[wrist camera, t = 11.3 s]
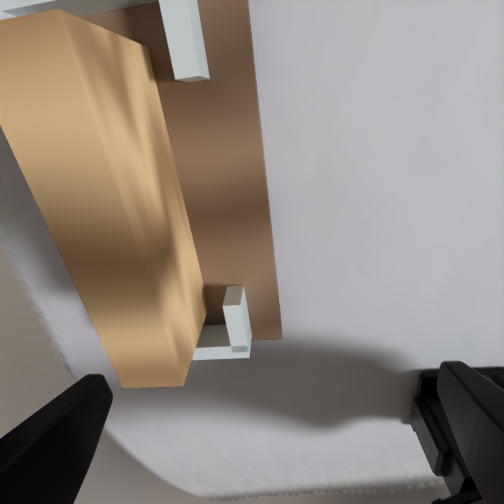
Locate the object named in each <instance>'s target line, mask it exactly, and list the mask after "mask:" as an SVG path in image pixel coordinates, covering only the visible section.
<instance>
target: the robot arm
mask: <svg viewBox="0 0 504 504" xmlns="http://www.w3.org/2000/svg"><path fill="white" fill-rule="evenodd" d="M112 399H113V395H112V391H111V389H110V387H109V385H108V383H107V381H106V379H105V377H104V376H103V375H102V374H88V375H86V376H84V377H83V378H82V379H80V380H79V381H78V382H76V383H75V384H73V385H72V386H71V387H69V388H68V389H67V390H65V391H64V392H63V393H61V394H60V395H59V396H57V397H56V398H55V399H53V400H52V401H50V402H49V403H48V404H46V405H45V406H44V407H42V408H41V409H40V410H38V411H37V412H36V413H34V414H33V415H32V416H30V417H29V418H28V419H26V420H25V421H24V422H22V423H21V424H19V425H18V426H17V427H16V428H14V429H13V430H11V431H10V432H9V433H7V434H6V435H5V436H3V437H2V438H0V504H74V501H75V499H76V497H77V494H78V492H79V490H80V487H81V485H82V483H83V481H84V478H85V476H86V474H87V471H88V469H89V467H90V464H91V462H92V459H93V457H94V454H95V451H96V448H97V445H98V442H99V439H100V436H101V433H102V431H103V428H104V425H105V422H106V419H107V416H108V413H109V410H110V407H111V404H112ZM410 420H411V426H412V428H413V431H414V432H416V434H417V437H418V439H419V441H420V444H421V446H422V448H423V451H424V453H425V455H426V458H427V460H428V462H429V465H430V467H431V469H432V472H433V473H434V474H435V475H436V476H443V478H444V481H445V483H446V485H447V487H448V489H449V492H450V494H451V496H449V497H447V498H444V499H440V498H438V499H435V500H432V504H504V370H478V371H475V370H474V369H472V368H471V367H469V366H468V365H466V364H465V363H463V362H461V361H443V362H442V363H441V365H440V369H439V372H425V373H423V374H421V375H420V377H419V382H418V388H417V393H416V396H415V398H414V399H413V405H412V411H411V417H410Z"/></svg>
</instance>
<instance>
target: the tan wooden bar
mask: <svg viewBox="0 0 504 504" xmlns="http://www.w3.org/2000/svg"><path fill="white" fill-rule="evenodd" d="M0 126H1V128H2V130H3V132H4V134H5V136H6V138H7V141H8V143H9V145H10V147H11V149H12V151H13V153H14V156H15V158H16V160H17V162H18V164H19V166H20V169H21V171H22V173H23V175H24V177H25V179H26V181H27V184H28V186H29V188H30V190H31V192H32V194H33V196H34V199H35V201H36V203H37V205H38V207H39V209H40V212H41V214H42V216H43V218H44V220H45V222H46V224H47V227H48V229H49V231H50V233H51V235H52V237H53V239H54V242H55V244H56V246H57V248H58V250H59V252H60V254H61V257H62V259H63V261H64V263H65V265H66V267H67V270H68V272H69V274H70V276H71V278H72V280H73V282H74V285H75V287H76V289H77V291H78V293H79V295H80V297H81V300H82V302H83V304H84V306H85V308H86V310H87V313H88V315H89V317H90V319H91V321H92V323H93V325H94V328H95V330H96V332H97V334H98V336H99V338H100V340H101V343H102V345H103V347H104V349H105V351H106V353H107V356H108V358H109V360H110V362H111V364H112V366H113V368H114V371H115V373H116V375H117V377H118V379H119V381H120V383H121V386H122V388H142V387H174V386H184V383H185V380H186V376H187V373H188V370H189V367H190V364H191V361H192V358H193V355H194V351H195V348H196V345H197V342H198V339H199V336H200V333H201V330H202V326H203V323H204V320H205V317H206V314H207V311H208V308H209V305H208V301H207V297H206V292H205V288H204V284H203V280H202V275H201V271H200V267H199V263H198V259H197V254H196V250H195V246H194V242H193V237H192V233H191V229H190V225H189V221H188V216H187V212H186V208H185V204H184V199H183V195H182V191H181V187H180V183H179V178H178V174H177V170H176V166H175V161H174V157H173V153H172V149H171V144H170V140H169V136H168V132H167V128H166V123H165V119H164V115H163V111H162V106H161V102H160V98H159V94H158V90H157V85H156V81H155V77H154V73H153V68H152V64H151V60H150V56H149V52H148V47H146V46H144V45H142V44H139V43H137V42H135V41H132V40H130V39H128V38H125V37H123V36H121V35H118V34H116V33H114V32H111V31H109V30H107V29H104V28H102V27H100V26H97V25H95V24H93V23H90V22H88V21H85V20H83V19H81V18H78V17H76V16H74V15H71V14H69V13H67V12H64V11H62V10H60V9H54V10H49V11H44V12H39V13H34V14H28V15H23V16H18V17H13V18H8V19H3V20H0Z"/></svg>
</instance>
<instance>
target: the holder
mask: <svg viewBox="0 0 504 504" xmlns="http://www.w3.org/2000/svg"><path fill="white" fill-rule="evenodd" d="M54 9H60V10H62V11H64V12H67V13H69V14H71V15H74V16H76V17H78V18H81V19H83V20H85V21H88V22H90V23H93V24H95V25H97V26H100V27H102V28H104V29H107V30H109V31H111V32H114V33H116V34H118V35H121V36H123V37H125V38H128V39H130V40H132V41H135V42H137V43H139V44H142V45H144V46H146V47H148V52H149V56H150V60H151V64H152V68H153V73H154V77H155V81H156V85H157V90H158V94H159V98H160V102H161V106H162V111H163V115H164V119H165V123H166V128H167V132H168V136H169V140H170V144H171V149H172V153H173V157H174V161H175V166H176V170H177V174H178V178H179V183H180V187H181V191H182V195H183V199H184V204H185V208H186V212H187V216H188V221H189V225H190V229H191V233H192V237H193V242H194V246H195V250H196V254H197V259H198V263H199V267H200V271H201V275H202V280H203V284H204V288H205V292H206V297H207V301H208V305H209V308H208V311H207V314H206V317H205V320H204V323H203V326H202V330H201V333H200V336H199V339H198V342H197V345H196V348H195V351H194V355H193V358H192V360H210V359H234V358H250V348H251V341H255V340H277V339H282V324H281V314H280V305H279V295H278V285H277V276H276V266H275V257H274V247H273V237H272V228H271V218H270V208H269V199H268V189H267V179H266V170H265V160H264V151H263V141H262V131H261V122H260V112H259V102H258V93H257V83H256V73H255V64H254V54H253V44H252V35H251V25H250V16H249V6H248V0H0V20H3V19H8V18H13V17H18V16H23V15H28V14H34V13H39V12H44V11H49V10H54Z"/></svg>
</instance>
